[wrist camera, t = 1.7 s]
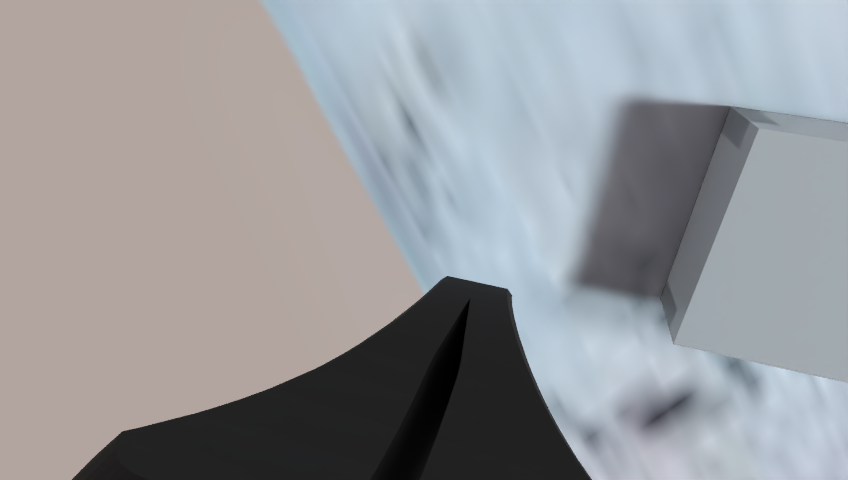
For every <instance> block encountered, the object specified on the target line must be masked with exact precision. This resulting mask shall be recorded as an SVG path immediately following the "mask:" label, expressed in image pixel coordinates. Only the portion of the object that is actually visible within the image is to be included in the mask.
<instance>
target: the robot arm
mask: <svg viewBox="0 0 848 480" xmlns="http://www.w3.org/2000/svg"><path fill="white" fill-rule="evenodd" d="M72 480H592V479H591V478H590V476H589V475H588V474H587V472H586V471H585V469H584V468H583V466H582V465H581V464H580V462H579V461H578V459H577V458H576V456H575V454H574V453H573V451H572V449H571V448H570V446H569V445H568V443H567V441H566V440H565V438H564V436H563V435H562V433H561V431H560V429H559V428H558V426H557V424H556V422H555V420H554V418H553V417H552V415H551V413H550V411H549V409H548V407H547V405H546V403H545V401H544V399H543V397H542V395H541V392H540V390H539V388H538V386H537V383H536V381H535V379H534V376H533V374H532V372H531V369H530V367H529V364H528V361H527V359H526V356H525V353H524V350H523V347H522V344H521V341H520V338H519V334H518V331H517V327H516V323H515V319H514V314H513V308H512V295H511V293H510V292H509V290H508V289H505V288H500V287H496V286H491V285H487V284H482V283H477V282H473V281H468V280H463V279H459V278H454V277H449V276H447V277H445V278H443V279H442V280H441V281H439V282H438V283H437V284H436V285H435V286H434V287H433V288H432V289H431V290H430V291H429V292H428V293H427V294H425V295H424V296H423V297H422V298H421V299H420V300H419V301H417V302H416V303H415V304H414V305H412V306H411V307H410V308H409V309H407V310H406V311H405V312H404V313H402V314H401V315H400V316H398V317H397V318H396V319H395V320H393V321H392V322H391V323H390V324H388V325H387V326H385V327H384V328H382V329H381V330H379V331H378V332H376V333H375V334H374V335H372V336H371V337H369V338H368V339H366V340H365V341H363V342H362V343H360V344H359V345H357V346H355V347H354V348H352V349H350V350H349V351H347V352H345V353H344V354H342V355H340V356H338V357H337V358H335V359H333V360H331V361H329V362H327V363H326V364H324V365H322V366H320V367H318V368H316V369H314V370H312V371H309V372H307V373H305V374H302V375H300V376H298V377H296V378H293V379H291V380H289V381H286V382H284V383H282V384H279V385H277V386H275V387H273V388H270V389H267V390H265V391H262V392H259V393H257V394H254V395H251V396H249V397H246V398H243V399H240V400H237V401H234V402H231V403H228V404H225V405H222V406H218V407H215V408H212V409H209V410H205V411H202V412H199V413H195V414H191V415H187V416H183V417H180V418H176V419H172V420H168V421H164V422H160V423H156V424H152V425H148V426H144V427H140V428H136V429H132V430H127V431H123V432H121V433H120V434H119V435H118V436H117V437H116V438H115V439H114V440H112V441H111V442H110V443H109V444H108V445H107V446H106V447H105V448H104V449H103V450H101V451H100V452H99V453H98V454H97V455H96V456H95V457H94V458H93V459H92V460H91V461H90V462H89V463H88V464H87V465H86V466H85V467H84V468H83V469H82V470H81V471H80V472H79V473H78V474H77V475H76V476H75V477H74V478H73V479H72Z"/></svg>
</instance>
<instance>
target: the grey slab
mask: <svg viewBox="0 0 848 480" xmlns="http://www.w3.org/2000/svg"><path fill="white" fill-rule="evenodd" d="M661 302H662V305H663V309H664V313H665V316H666V320H667V323H668V327H669V330H670V334H671V337H672V341H673V344H675V345H680V346H684V347H689V348H693V349H698V350H702V351H707V352H711V353H716V354H720V355H725V356H729V357H734V358H738V359H743V360H747V361H752V362H756V363H761V364H765V365H770V366H774V367H779V368H783V369H788V370H792V371H797V372H801V373H806V374H810V375H815V376H819V377H824V378H828V379H833V380H837V381H842V382H846V383H848V123H842V122H835V121H828V120H821V119H814V118H807V117H800V116H793V115H786V114H779V113H772V112H766V111H759V110H752V109H745V108H738V107H731V106H730V109H729V112H728V115H727V117H726V120H725V123H724V126H723V128H722V131H721V134H720V137H719V139H718V142H717V145H716V148H715V150H714V153H713V156H712V159H711V161H710V164H709V167H708V170H707V172H706V175H705V178H704V180H703V183H702V186H701V189H700V191H699V194H698V197H697V200H696V202H695V205H694V208H693V211H692V213H691V216H690V219H689V222H688V224H687V227H686V230H685V233H684V235H683V238H682V241H681V244H680V246H679V249H678V252H677V255H676V257H675V260H674V263H673V266H672V268H671V271H670V274H669V276H668V279H667V282H666V285H665V287H664V290H663V293H662V296H661Z"/></svg>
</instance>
